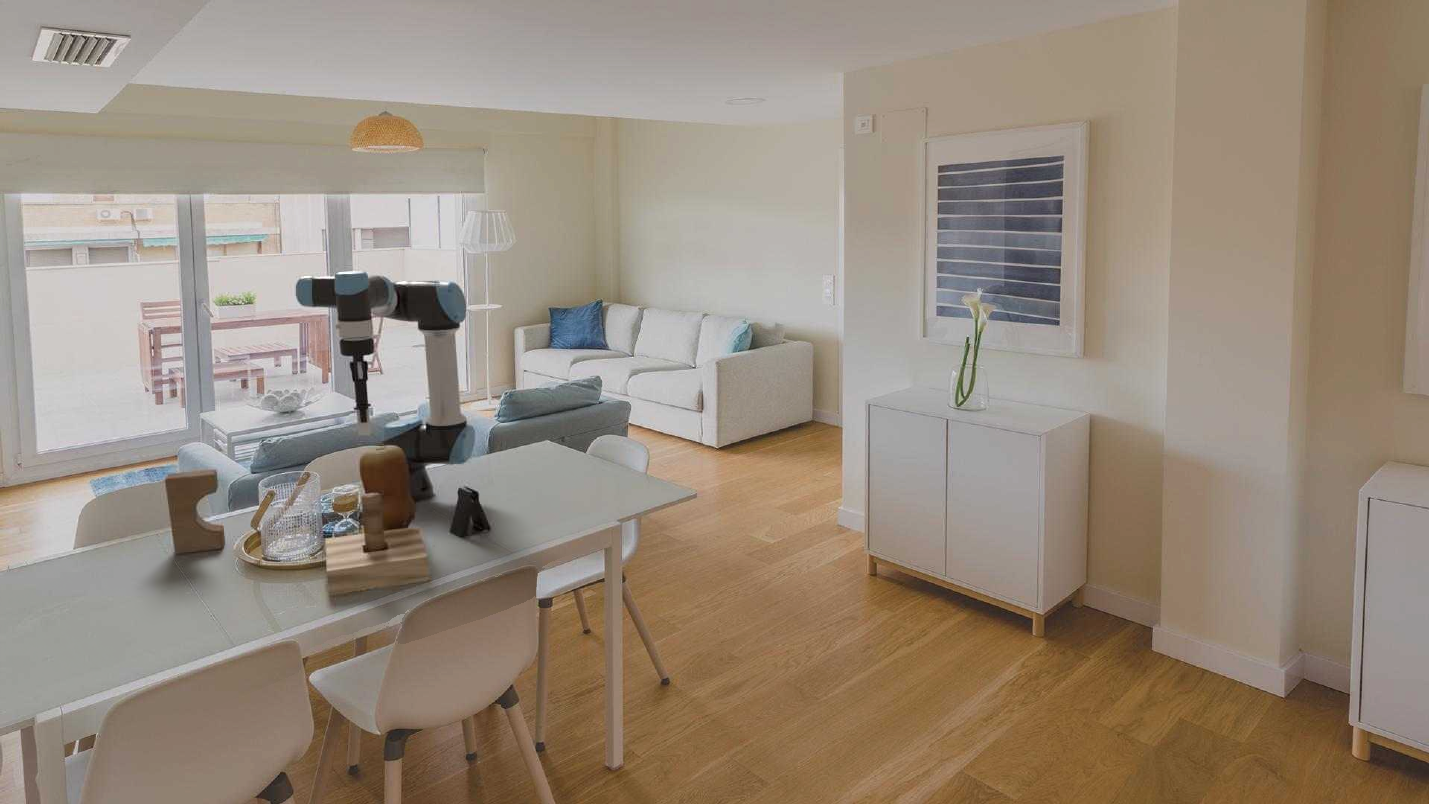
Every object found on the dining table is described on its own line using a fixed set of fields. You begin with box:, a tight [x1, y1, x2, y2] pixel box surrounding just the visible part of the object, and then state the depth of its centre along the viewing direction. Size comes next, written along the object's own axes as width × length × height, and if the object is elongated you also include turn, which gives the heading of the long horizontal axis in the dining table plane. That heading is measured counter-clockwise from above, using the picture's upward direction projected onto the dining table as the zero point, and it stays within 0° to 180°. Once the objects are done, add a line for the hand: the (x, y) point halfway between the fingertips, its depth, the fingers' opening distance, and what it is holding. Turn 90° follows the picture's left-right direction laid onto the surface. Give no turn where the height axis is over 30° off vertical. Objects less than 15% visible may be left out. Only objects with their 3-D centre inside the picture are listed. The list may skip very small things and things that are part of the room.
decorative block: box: [164, 468, 226, 555], centre depth 239 cm, size 11×6×20 cm, turn 111°
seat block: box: [324, 526, 430, 597], centre depth 226 cm, size 22×22×6 cm
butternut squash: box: [358, 445, 417, 531], centre depth 246 cm, size 14×13×25 cm
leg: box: [360, 493, 385, 553], centre depth 224 cm, size 4×4×18 cm
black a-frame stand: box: [449, 485, 492, 539], centre depth 252 cm, size 9×6×12 cm, turn 135°
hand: (364, 434), depth 226 cm, fingers closed
